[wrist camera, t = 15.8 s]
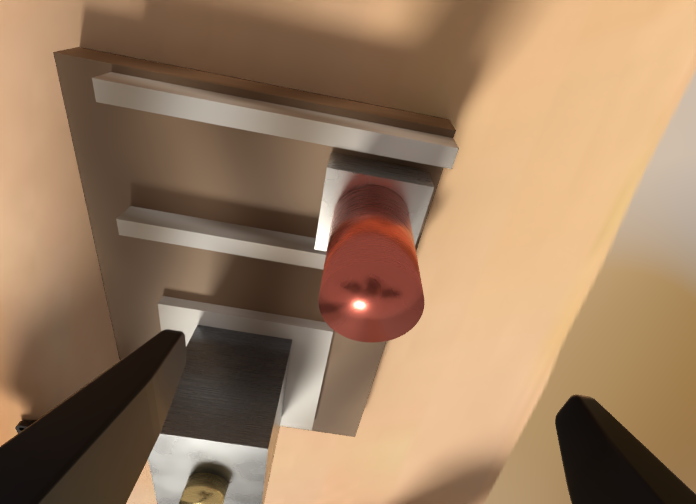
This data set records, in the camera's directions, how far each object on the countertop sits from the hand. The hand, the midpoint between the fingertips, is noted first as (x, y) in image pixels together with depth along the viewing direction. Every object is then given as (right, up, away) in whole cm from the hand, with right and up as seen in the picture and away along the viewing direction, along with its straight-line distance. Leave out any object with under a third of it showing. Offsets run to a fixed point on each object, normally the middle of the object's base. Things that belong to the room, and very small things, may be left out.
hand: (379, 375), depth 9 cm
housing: (-7, -4, +14) cm, 16 cm away
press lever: (0, +5, +8) cm, 9 cm away
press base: (-6, +1, +13) cm, 14 cm away
